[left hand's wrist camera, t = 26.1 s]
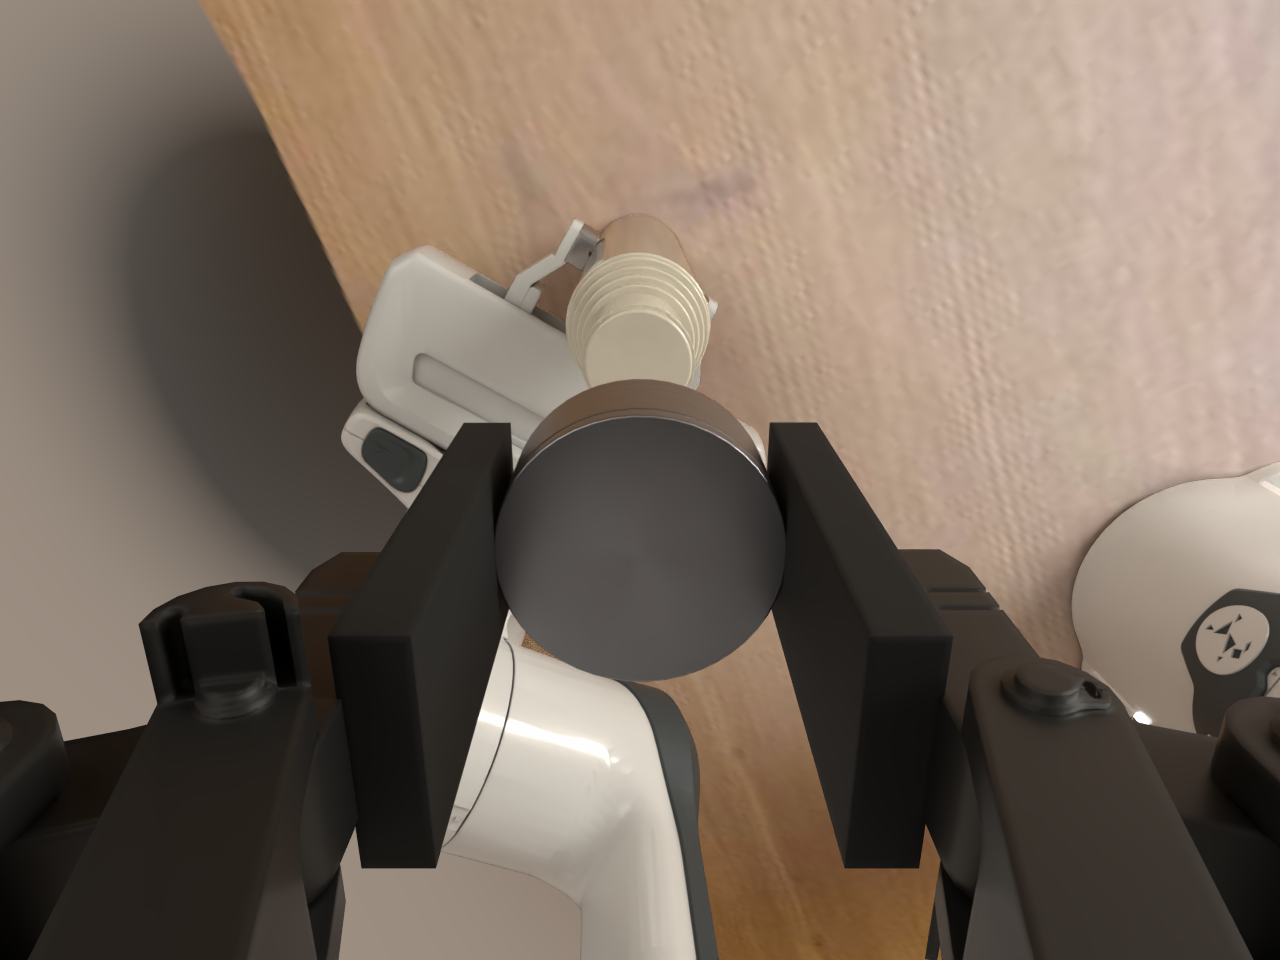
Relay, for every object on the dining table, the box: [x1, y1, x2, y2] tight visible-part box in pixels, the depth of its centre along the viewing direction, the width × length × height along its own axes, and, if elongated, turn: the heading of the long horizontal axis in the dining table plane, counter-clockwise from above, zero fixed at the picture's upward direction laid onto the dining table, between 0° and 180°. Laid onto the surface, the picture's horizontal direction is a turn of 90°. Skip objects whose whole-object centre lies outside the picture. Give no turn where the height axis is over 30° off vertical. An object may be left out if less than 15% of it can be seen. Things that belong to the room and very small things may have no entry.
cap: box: [494, 379, 787, 682], centre depth 13 cm, size 4×4×2 cm
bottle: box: [566, 214, 710, 389], centre depth 36 cm, size 5×5×24 cm
